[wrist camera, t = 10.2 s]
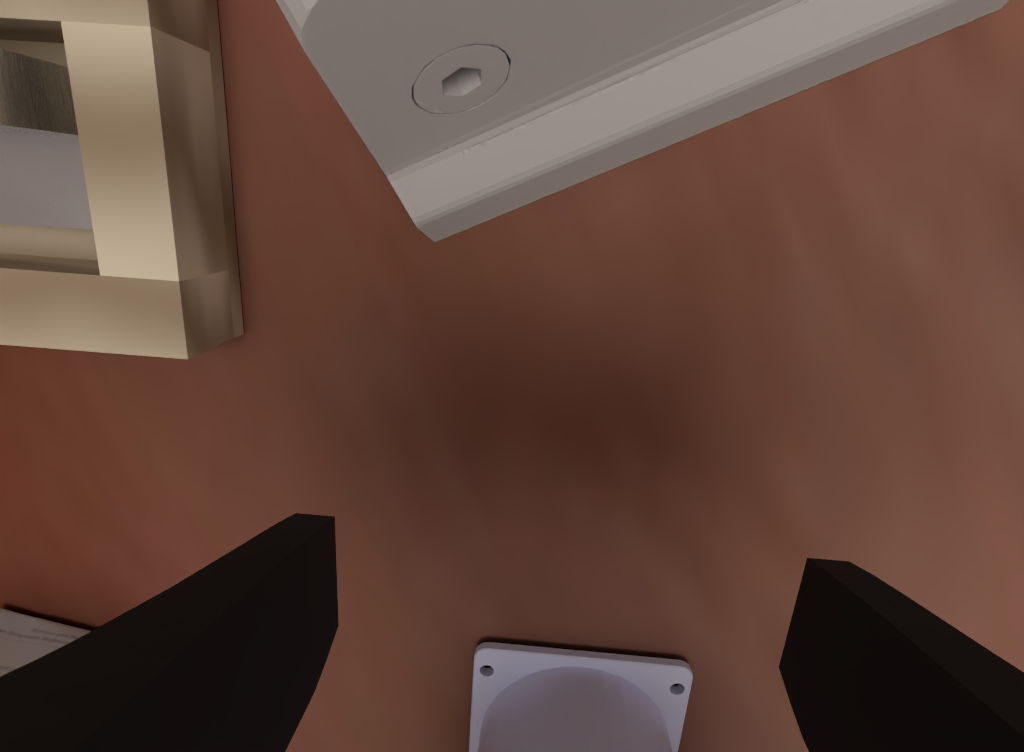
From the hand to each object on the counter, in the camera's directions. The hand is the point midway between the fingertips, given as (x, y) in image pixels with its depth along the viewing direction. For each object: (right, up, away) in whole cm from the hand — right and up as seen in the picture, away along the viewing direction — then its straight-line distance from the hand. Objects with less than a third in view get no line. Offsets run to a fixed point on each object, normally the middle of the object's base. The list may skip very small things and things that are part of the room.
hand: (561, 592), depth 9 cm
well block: (-14, +10, +8) cm, 19 cm away
